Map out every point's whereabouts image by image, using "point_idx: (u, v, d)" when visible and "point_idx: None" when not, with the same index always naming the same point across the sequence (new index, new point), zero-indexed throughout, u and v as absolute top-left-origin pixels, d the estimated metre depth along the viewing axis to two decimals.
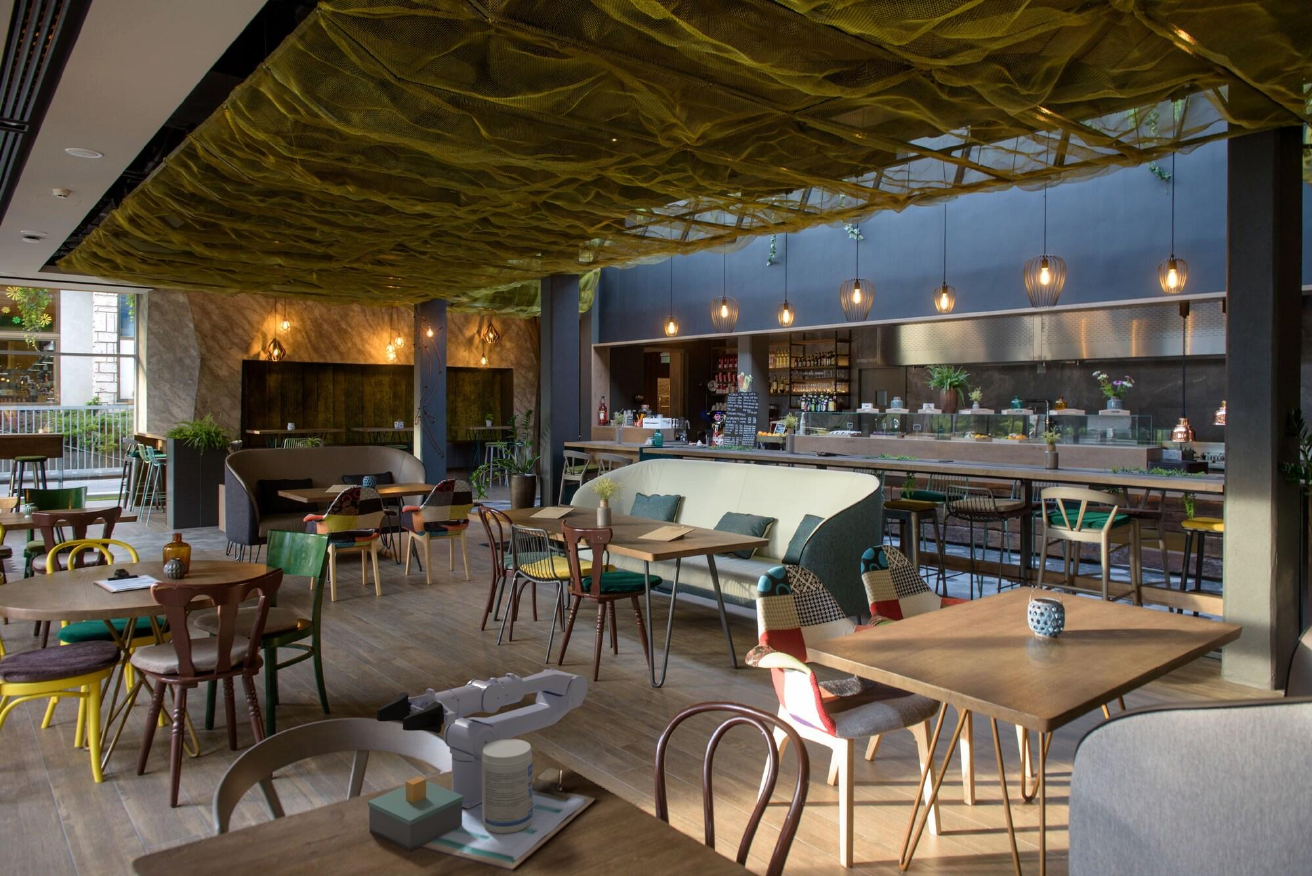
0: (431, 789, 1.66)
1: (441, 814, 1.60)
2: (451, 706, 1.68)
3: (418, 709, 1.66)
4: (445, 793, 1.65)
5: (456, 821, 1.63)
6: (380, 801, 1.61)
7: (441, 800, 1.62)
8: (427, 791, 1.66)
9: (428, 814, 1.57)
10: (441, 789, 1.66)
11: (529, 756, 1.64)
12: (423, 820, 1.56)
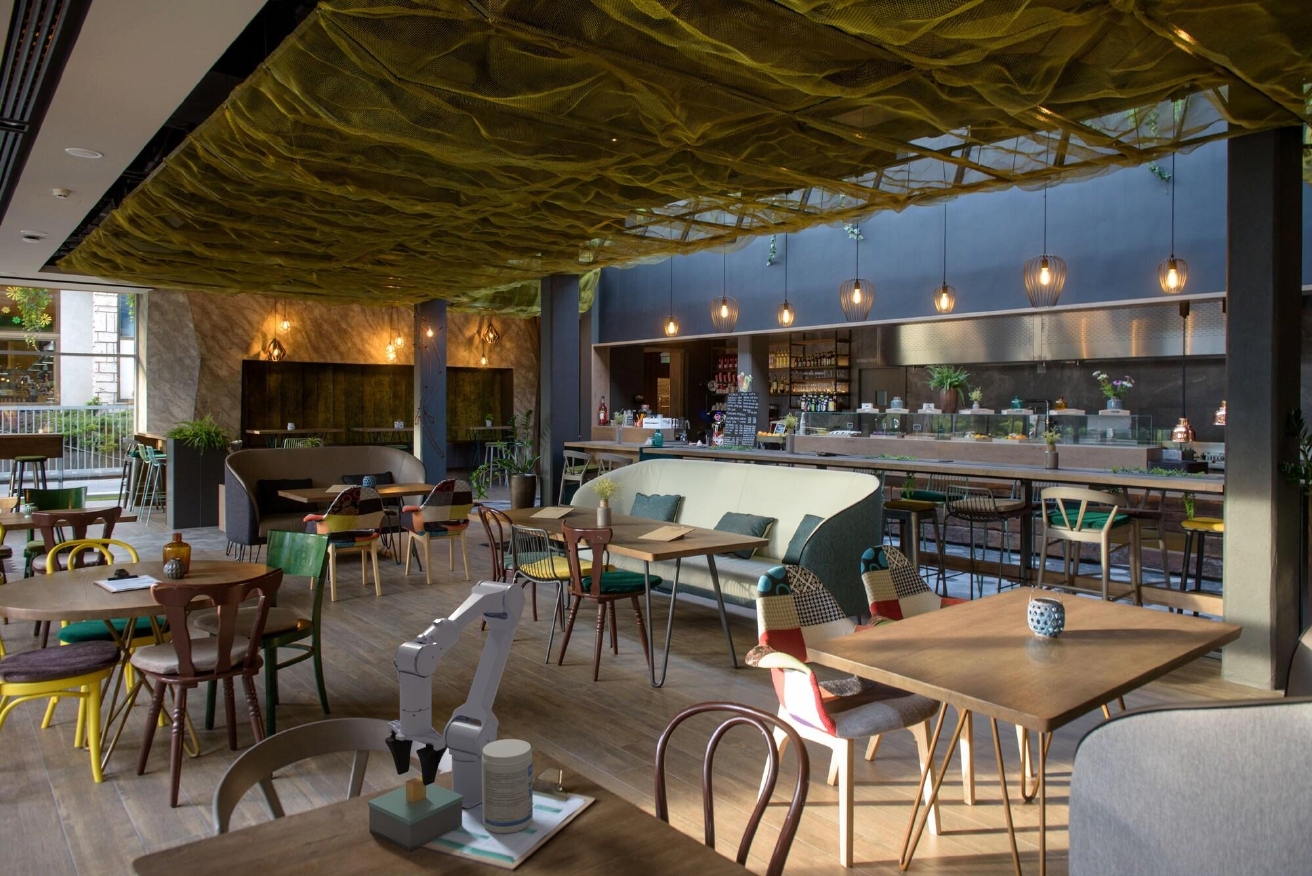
0: (431, 789, 1.66)
1: (441, 814, 1.60)
2: (422, 718, 1.60)
3: None
4: (445, 793, 1.65)
5: (456, 821, 1.63)
6: (380, 801, 1.61)
7: (441, 800, 1.62)
8: (427, 791, 1.66)
9: (428, 814, 1.57)
10: (441, 789, 1.66)
11: (529, 756, 1.64)
12: (423, 820, 1.56)
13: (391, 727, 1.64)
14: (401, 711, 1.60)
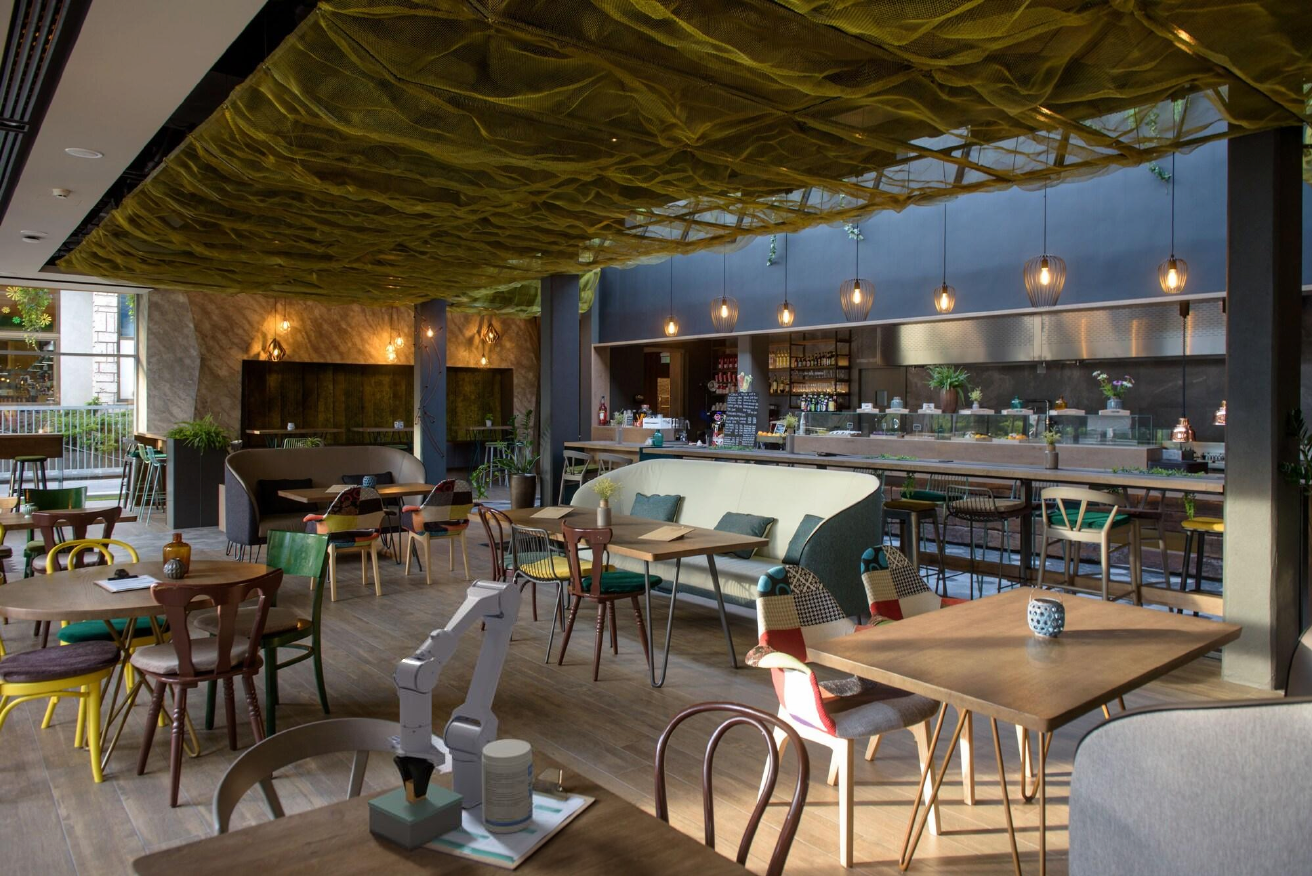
0: (431, 789, 1.66)
1: (441, 814, 1.60)
2: (422, 735, 1.60)
3: None
4: (445, 793, 1.65)
5: (456, 821, 1.63)
6: (380, 801, 1.61)
7: (441, 800, 1.62)
8: (427, 791, 1.66)
9: (428, 814, 1.57)
10: (441, 789, 1.66)
11: (529, 756, 1.64)
12: (423, 820, 1.56)
13: (391, 743, 1.65)
14: (401, 727, 1.60)
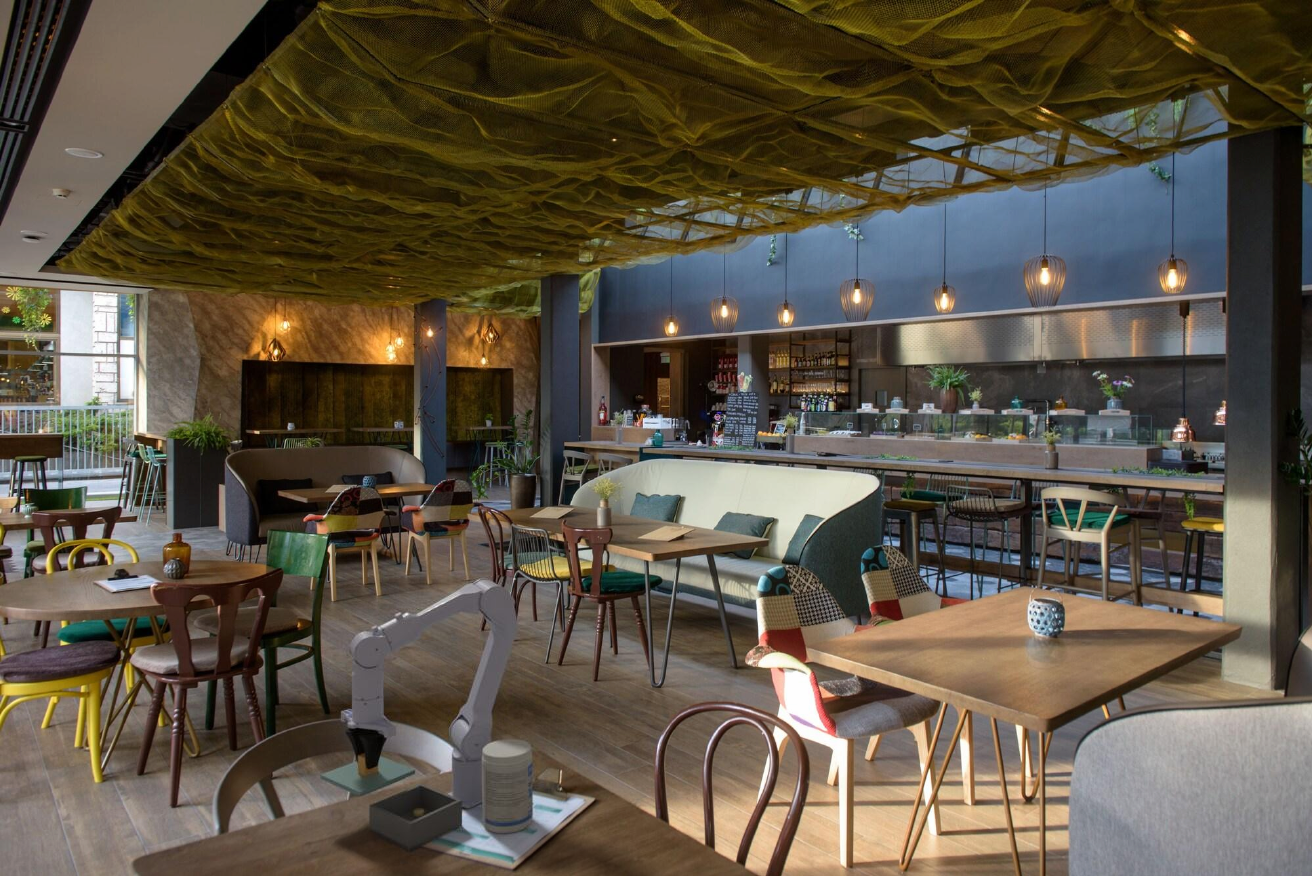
0: (384, 763, 1.70)
1: (441, 814, 1.60)
2: (374, 707, 1.64)
3: None
4: (397, 767, 1.68)
5: (456, 821, 1.63)
6: (333, 774, 1.65)
7: (393, 774, 1.65)
8: (380, 765, 1.69)
9: (379, 786, 1.61)
10: (393, 764, 1.70)
11: (529, 756, 1.64)
12: (423, 820, 1.56)
13: (344, 716, 1.68)
14: (353, 700, 1.64)
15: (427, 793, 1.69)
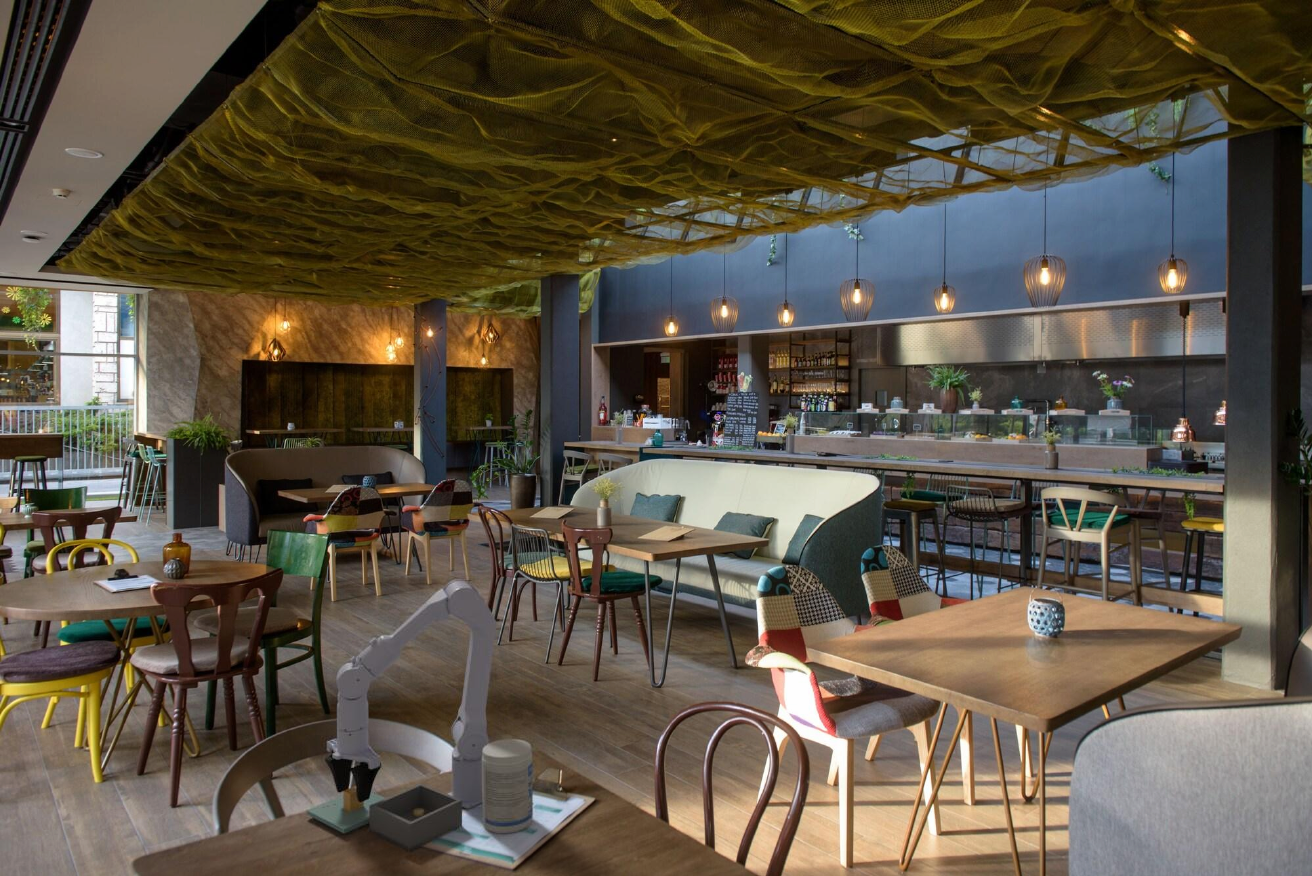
0: (370, 798, 1.72)
1: (441, 814, 1.60)
2: (358, 738, 1.65)
3: None
4: None
5: (456, 821, 1.63)
6: (319, 809, 1.67)
7: None
8: (365, 800, 1.71)
9: (363, 823, 1.62)
10: (379, 798, 1.72)
11: (529, 756, 1.64)
12: (423, 820, 1.56)
13: (330, 746, 1.70)
14: (338, 731, 1.65)
15: (427, 793, 1.69)
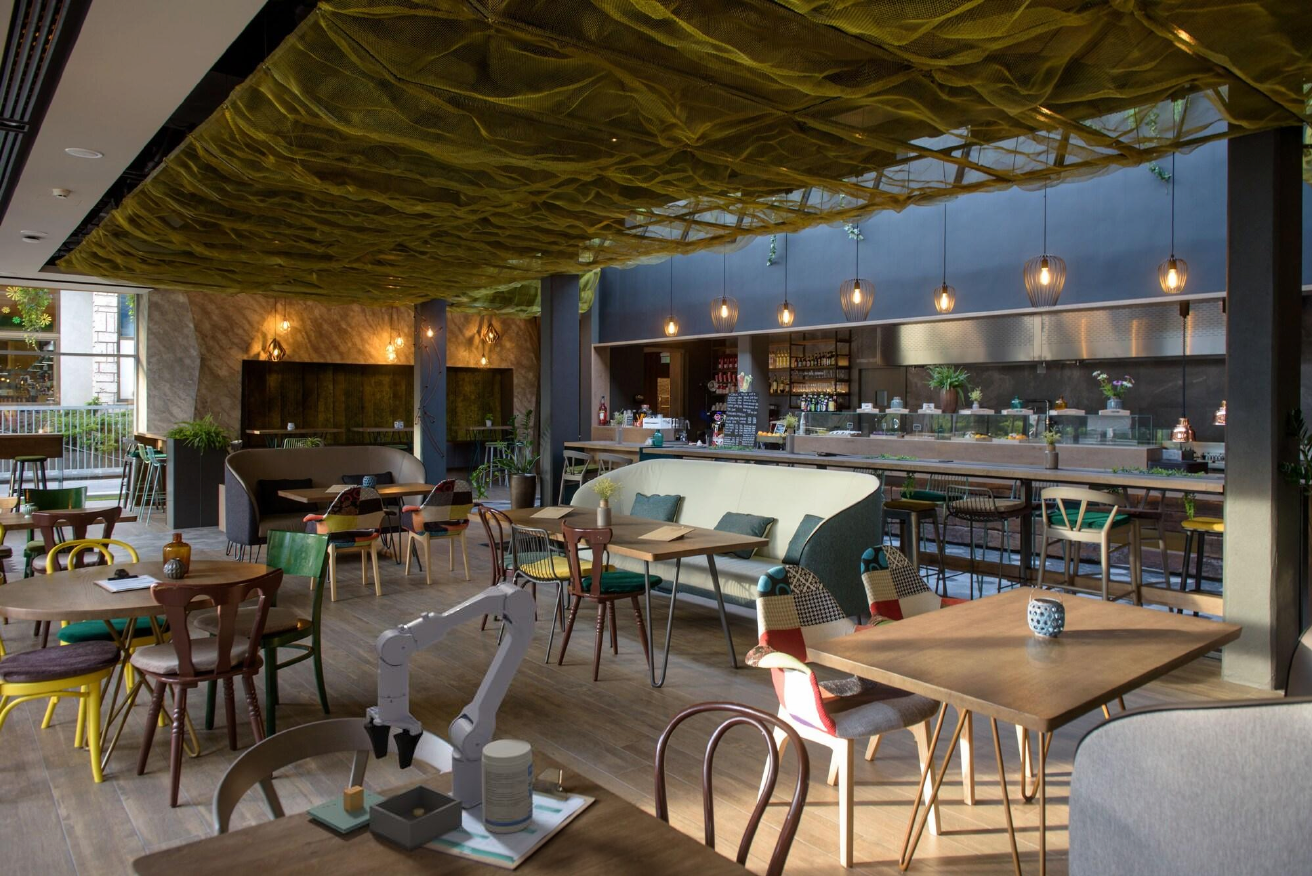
0: (370, 798, 1.72)
1: (441, 814, 1.60)
2: (399, 704, 1.65)
3: None
4: None
5: (456, 821, 1.63)
6: (319, 809, 1.67)
7: None
8: (365, 800, 1.71)
9: (363, 823, 1.62)
10: (379, 798, 1.72)
11: (529, 756, 1.64)
12: (423, 820, 1.56)
13: (370, 713, 1.70)
14: (379, 697, 1.66)
15: (427, 793, 1.69)
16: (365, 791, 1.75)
